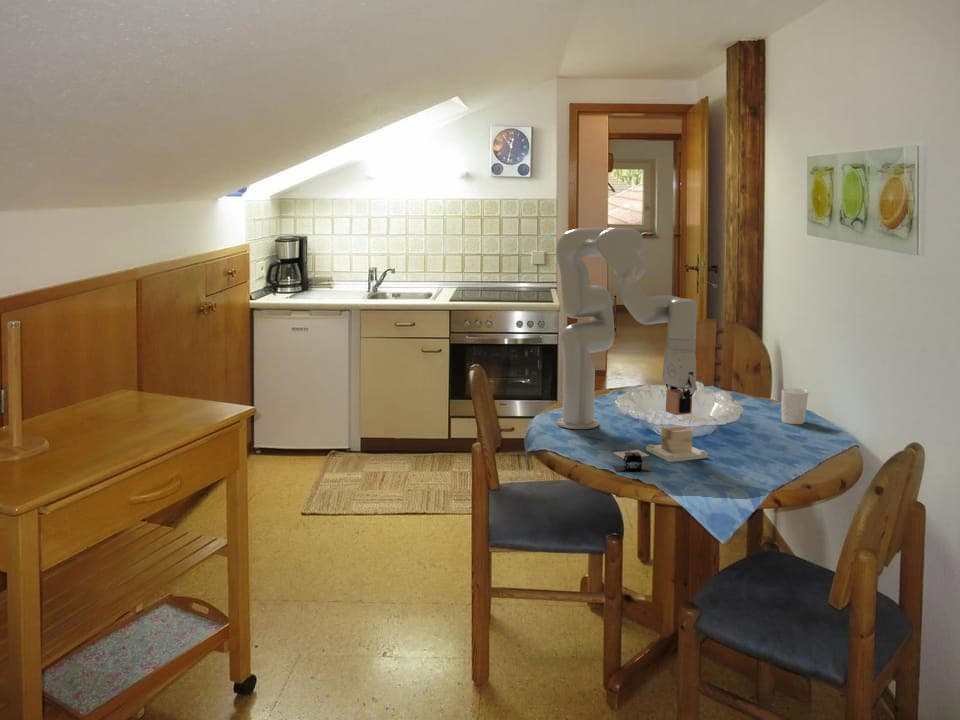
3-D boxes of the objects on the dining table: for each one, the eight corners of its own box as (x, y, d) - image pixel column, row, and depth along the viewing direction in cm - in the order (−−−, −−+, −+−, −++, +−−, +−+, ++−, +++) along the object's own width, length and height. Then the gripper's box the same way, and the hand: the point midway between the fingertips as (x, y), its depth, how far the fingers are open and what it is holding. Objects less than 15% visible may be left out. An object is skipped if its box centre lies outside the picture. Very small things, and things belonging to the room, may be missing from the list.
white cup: (774, 419, 301) (776, 388, 299) (795, 418, 303) (798, 387, 301) (789, 425, 293) (791, 394, 291) (811, 424, 295) (813, 392, 294)
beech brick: (661, 448, 264) (661, 427, 263) (679, 445, 266) (680, 425, 265) (672, 453, 258) (673, 432, 257) (691, 451, 260) (692, 430, 259)
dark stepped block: (611, 475, 245) (611, 458, 244) (606, 467, 252) (606, 450, 251) (659, 474, 246) (659, 457, 245) (652, 466, 253) (652, 449, 252)
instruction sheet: (612, 453, 263) (612, 452, 263) (638, 450, 266) (638, 449, 266) (623, 458, 258) (623, 458, 257) (649, 455, 260) (649, 455, 260)
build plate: (646, 450, 266) (646, 444, 265) (682, 446, 270) (683, 440, 270) (669, 462, 255) (669, 456, 254) (707, 457, 259) (707, 451, 259)
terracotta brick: (665, 411, 261) (666, 389, 260) (681, 409, 263) (682, 388, 262) (675, 415, 257) (676, 393, 256) (691, 413, 259) (692, 392, 257)
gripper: (652, 340, 263) (650, 404, 266) (687, 350, 247) (684, 418, 251) (675, 339, 266) (673, 402, 269) (711, 348, 250) (708, 416, 253)
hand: (678, 409), depth 260 cm, fingers closed on terracotta brick, 5 cm apart
